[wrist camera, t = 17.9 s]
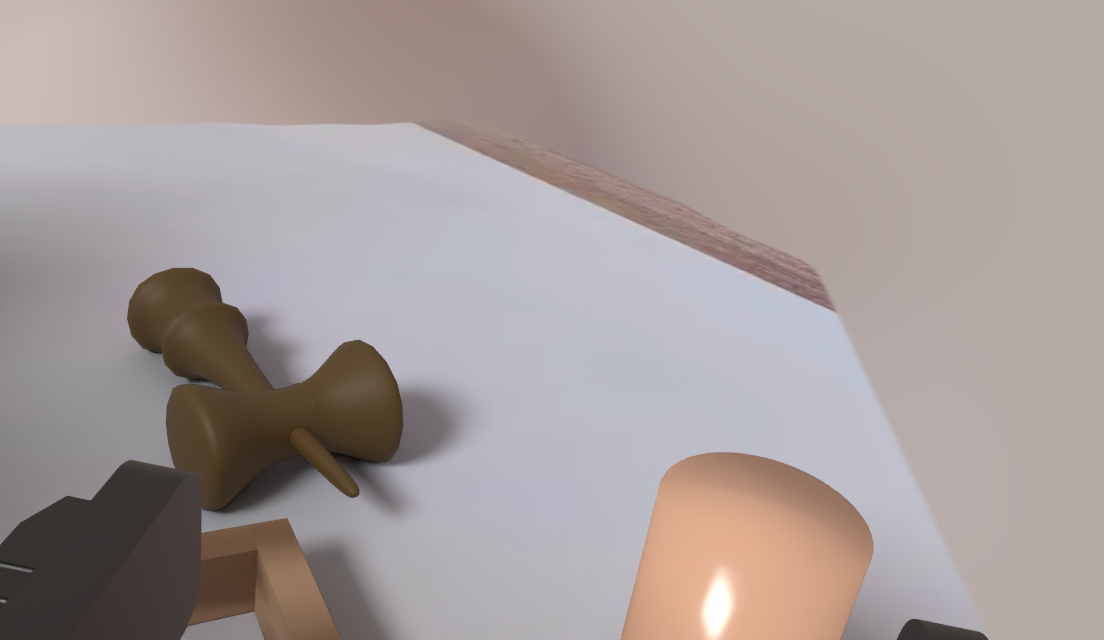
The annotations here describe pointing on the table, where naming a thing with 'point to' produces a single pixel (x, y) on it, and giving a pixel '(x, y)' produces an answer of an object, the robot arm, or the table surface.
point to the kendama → (257, 394)
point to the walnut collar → (262, 582)
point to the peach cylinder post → (747, 554)
